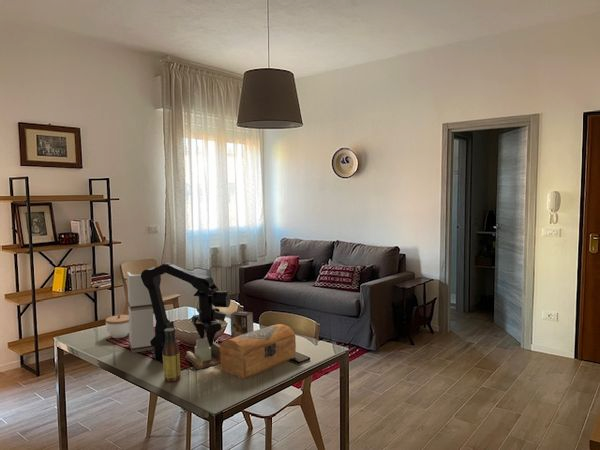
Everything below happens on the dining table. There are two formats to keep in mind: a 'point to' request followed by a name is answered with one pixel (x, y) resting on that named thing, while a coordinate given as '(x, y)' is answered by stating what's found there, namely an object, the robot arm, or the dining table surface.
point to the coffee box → (241, 323)
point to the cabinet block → (203, 349)
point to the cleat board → (214, 360)
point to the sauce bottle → (171, 356)
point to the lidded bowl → (118, 325)
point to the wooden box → (257, 350)
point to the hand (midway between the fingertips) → (206, 342)
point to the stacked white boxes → (139, 314)
